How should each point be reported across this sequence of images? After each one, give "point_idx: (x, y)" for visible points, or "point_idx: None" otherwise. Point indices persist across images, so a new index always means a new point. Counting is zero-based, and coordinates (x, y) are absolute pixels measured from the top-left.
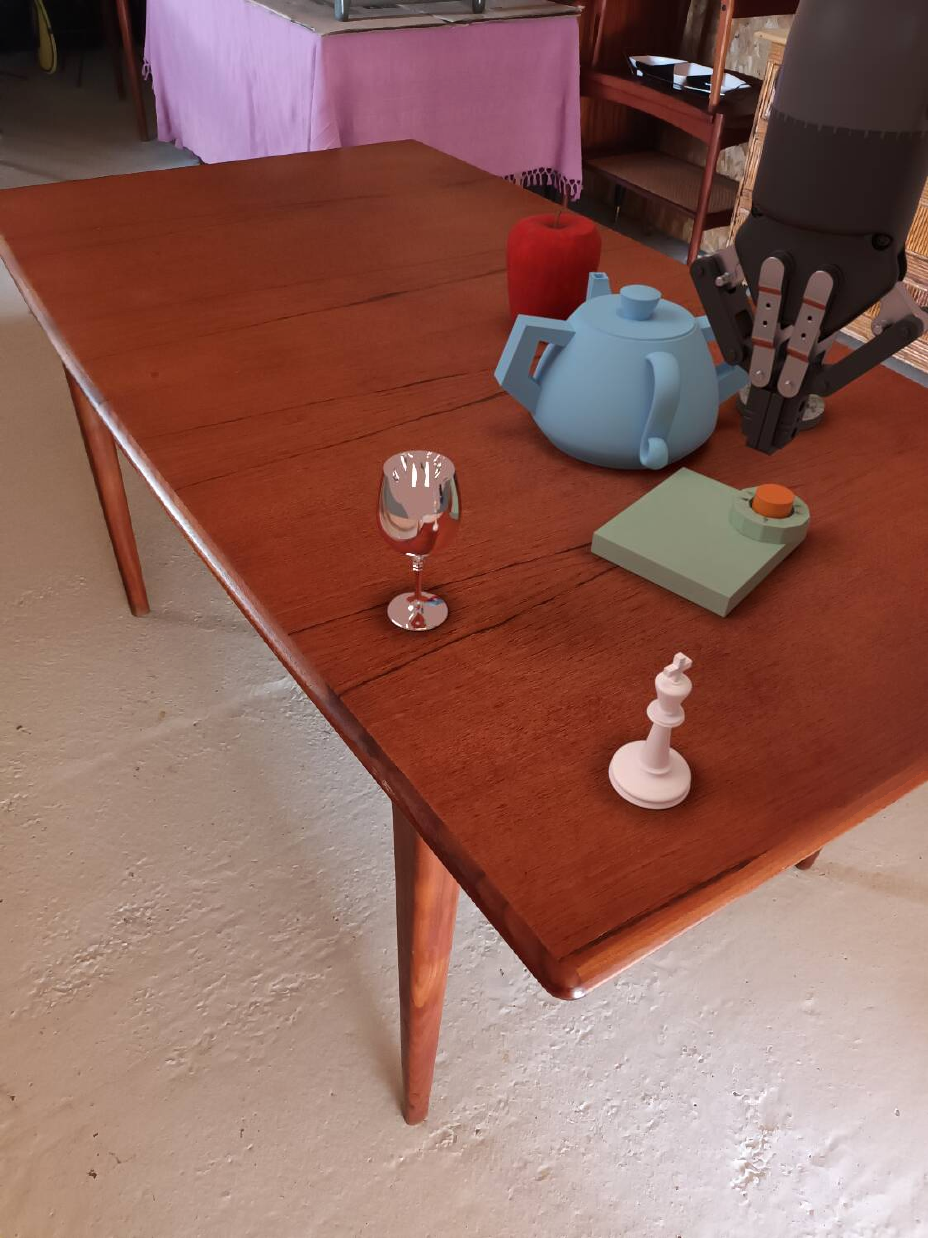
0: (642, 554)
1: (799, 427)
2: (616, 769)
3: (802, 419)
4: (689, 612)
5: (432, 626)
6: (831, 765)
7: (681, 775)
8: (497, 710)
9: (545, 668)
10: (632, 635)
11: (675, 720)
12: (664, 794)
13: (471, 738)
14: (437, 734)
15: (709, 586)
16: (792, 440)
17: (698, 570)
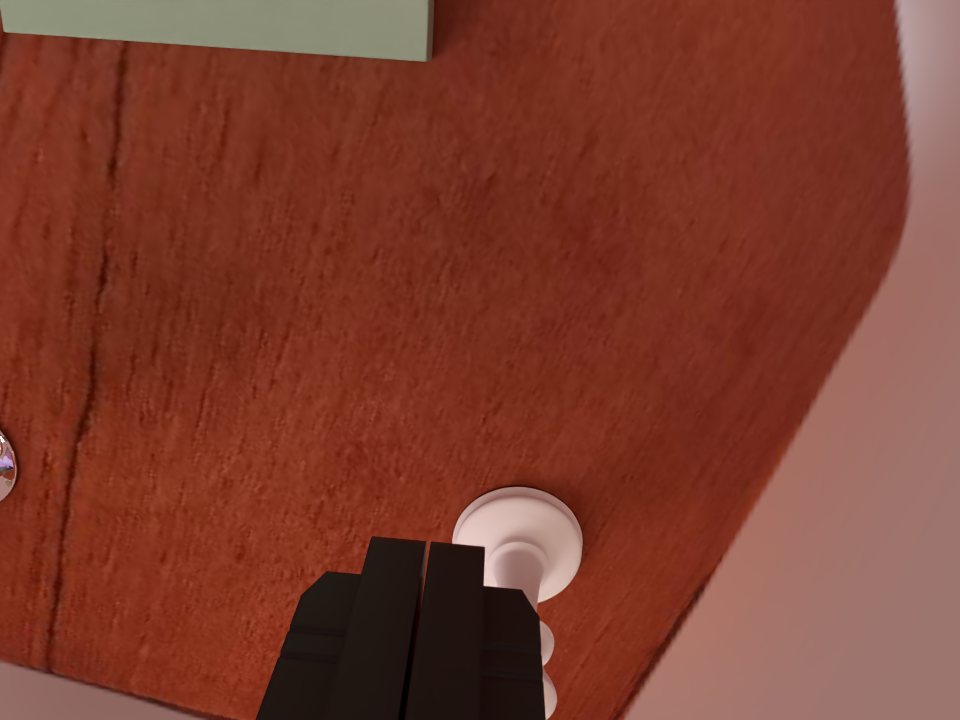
0: (159, 38)
1: (540, 651)
2: None
3: (542, 670)
4: (358, 95)
5: (12, 478)
6: (770, 343)
7: (565, 549)
8: (246, 562)
9: (238, 439)
10: (305, 254)
11: (544, 660)
12: (558, 588)
13: (258, 626)
14: (215, 647)
15: (364, 50)
16: (523, 596)
17: (308, 2)
